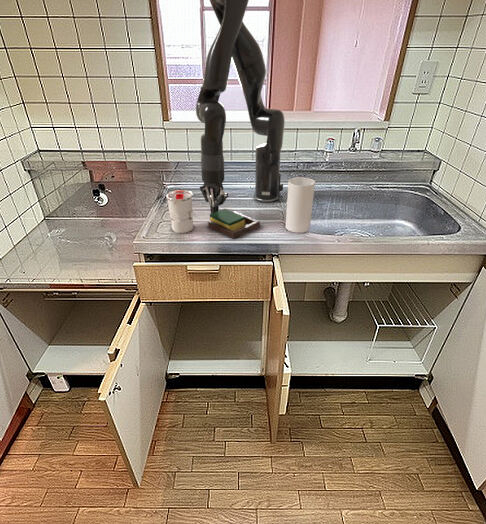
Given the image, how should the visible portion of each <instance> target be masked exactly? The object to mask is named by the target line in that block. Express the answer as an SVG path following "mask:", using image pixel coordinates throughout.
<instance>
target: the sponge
mask: <svg viewBox="0 0 486 524" xmlns="http://www.w3.org/2000/svg"><path fill="white" fill-rule="evenodd" d="M209 221H213V222H215V223H217V224H219V225H221V226H223V227H226V228H228V229H230V230H232V231H235V230H237V229H239V228H241V227H244V226H246V223H245V217H243V216H241V215H239V214H236V213H234V211H231V210H229V209H227V208H222V209H220V210H219V211H217V212H215V213H212V214H211V213H210V214H209Z"/></svg>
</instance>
